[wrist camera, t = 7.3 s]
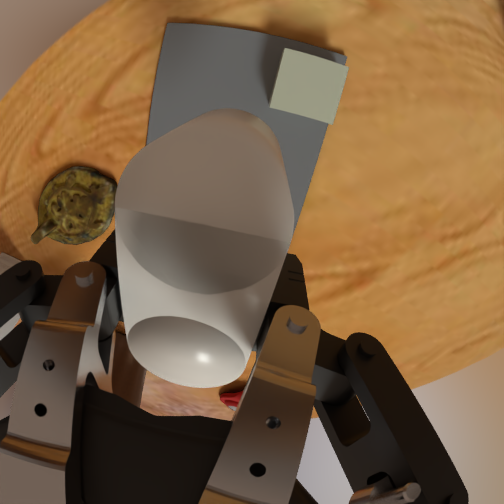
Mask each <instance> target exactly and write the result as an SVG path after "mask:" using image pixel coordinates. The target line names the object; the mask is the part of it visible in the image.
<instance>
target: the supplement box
mask: <svg viewBox="0 0 504 504" xmlns="http://www.w3.org/2000/svg"><path fill="white" fill-rule="evenodd" d="M19 262H22V261H20V260H18V259H16V258H14V257H12V256H10V255H7V254H5V253H1V254H0V275H1V274H2V273H3V272H5V271H6V270H8V269H9V268H11V267H12V266H14V265H15V264H17V263H19ZM19 319H20V316H19V313H18V314H16V315H15V316H14V317H13V318H11V319H10V320H9V321H8V322H7V323H6V324H4V325H3V326H2V327H1V328H0V340H1V339H3V338H4V337H5V336H6V335H7V334H8V333H9V332H10V331H12V329H13V328H14V326H15V325H16V323H17V322H18V320H19Z"/></svg>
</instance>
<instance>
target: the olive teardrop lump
mask: <svg viewBox="0 0 504 504" xmlns="http://www.w3.org/2000/svg"><path fill="white" fill-rule="evenodd" d="M116 191H117V183H116V182H115V181H114V180H113V179H111V178H108V177H106V176H104V175H101V174H100V173H99V172H98V171H97V170H96V169H93V168H89V167H80V166H78V167H71V168H69V169H67V170H65V171H63V172H61V173H59V174H58V175H57V176H55V177H54V178H53V179H52V180H51V181H50V182H49V183H48V184H47V186H46V187H45V189H44V191H43V192H42V194H41V198H40V200H39V207H38V227H37V229H36V231H35V232H34V233H33V234H32V236H31V240H32V242H33V243H34V244H37V243H39V242H40V241H41V240H42V239H43V238H44V237H46V236H47V237H49V238H51V239H53V240H55V241H58V242H61V243H64V244H73V245H78V244H82V243H85V242H90V241H92V240H94V239H96V238H97V237H98V236H100V235H101V234H103V233H104V232H105V230H106V229H107V228H108V227H109V225H110V223H111V220H112V217H113V215H114V212H115V196H116Z"/></svg>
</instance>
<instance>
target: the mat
mask: <svg viewBox="0 0 504 504" xmlns="http://www.w3.org/2000/svg"><path fill="white" fill-rule="evenodd" d="M284 48H288V49H292V50H295V51H299V52H303V53H306V54H310V55H313V56H317V57H320V58H323V59H326V60H329V61H332V62H335V63H338V64H341V65H344V66H345V63H346V59H347V56H344V55H341V54H338V53H335V52H332V51H329V50H326V49H323V48H320V47H317V46H313V45H310V44H306V43H303V42H299V41H295V40H291V39H287V38H283V37H279V36H274V35H270V34H265V33H260V32H254V31H249V30H243V29H236V28H229V27H221V26H212V25H201V24H187V23H167V27H166V31H165V35H164V40H163V44H162V49H161V53H160V58H159V63H158V68H157V74H156V79H155V85H154V91H153V98H152V104H151V111H150V119H149V127H148V135H147V145H148V144H149V143H151V142H152V141H154V140H156V139H158V138H159V137H161V136H163V135H165V134H166V133H168V132H170V131H172V130H173V129H175V128H177V127H179V126H181V125H183V124H185V123H186V122H188V121H190V120H192V119H194V118H196V117H198V116H200V115H202V114H204V113H207V112H209V111H212V110H216V109H223V108H231V109H239V110H243V111H246V112H248V113H251V114H253V115H255V116H256V117H258V118H260V119H261V120H262V121H263V122H265V123H266V124H267V125H268V126H269V127H270V129H271V130H272V131H273V133H274V135H275V136H276V138H277V140H278V143H279V146H280V150H281V154H282V158H283V162H284V167H285V171H286V176H287V180H288V185H289V189H290V194H291V199H292V204H293V209H294V229H293V233H294V230H295V228H296V225H297V222H298V218H299V215H300V212H301V209H302V206H303V203H304V200H305V197H306V194H307V191H308V188H309V185H310V182H311V178H312V175H313V172H314V169H315V166H316V162H317V159H318V156H319V153H320V150H321V146H322V143H323V140H324V136H325V133H326V130H327V126H328V123H325V122H322V121H319V120H315V119H312V118H308V117H305V116H301V115H298V114H294V113H290V112H286V111H282V110H278V109H274V108H270V107H269V102H270V98H271V94H272V90H273V86H274V82H275V78H276V74H277V70H278V66H279V63H280V59H281V55H282V52H283V50H284ZM147 145H146V146H147ZM292 236H293V235H292Z"/></svg>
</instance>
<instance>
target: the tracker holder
mask: <svg viewBox="0 0 504 504" xmlns="http://www.w3.org/2000/svg"><path fill="white" fill-rule="evenodd" d="M243 391H244V390H243ZM243 391H241V392H237V393H223V394H221V395H220V400H221V401H222V402H223V403H224V404H226V405H227V406H228V407H229V408H230V409H232V410H234V411H236V408H237V406H238V403H239V401H240V398H241V396H242V393H243Z"/></svg>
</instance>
